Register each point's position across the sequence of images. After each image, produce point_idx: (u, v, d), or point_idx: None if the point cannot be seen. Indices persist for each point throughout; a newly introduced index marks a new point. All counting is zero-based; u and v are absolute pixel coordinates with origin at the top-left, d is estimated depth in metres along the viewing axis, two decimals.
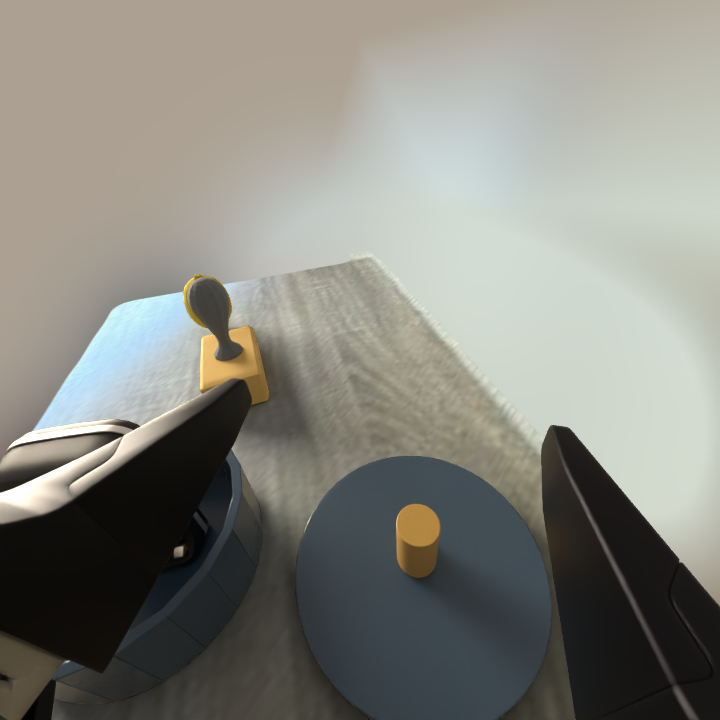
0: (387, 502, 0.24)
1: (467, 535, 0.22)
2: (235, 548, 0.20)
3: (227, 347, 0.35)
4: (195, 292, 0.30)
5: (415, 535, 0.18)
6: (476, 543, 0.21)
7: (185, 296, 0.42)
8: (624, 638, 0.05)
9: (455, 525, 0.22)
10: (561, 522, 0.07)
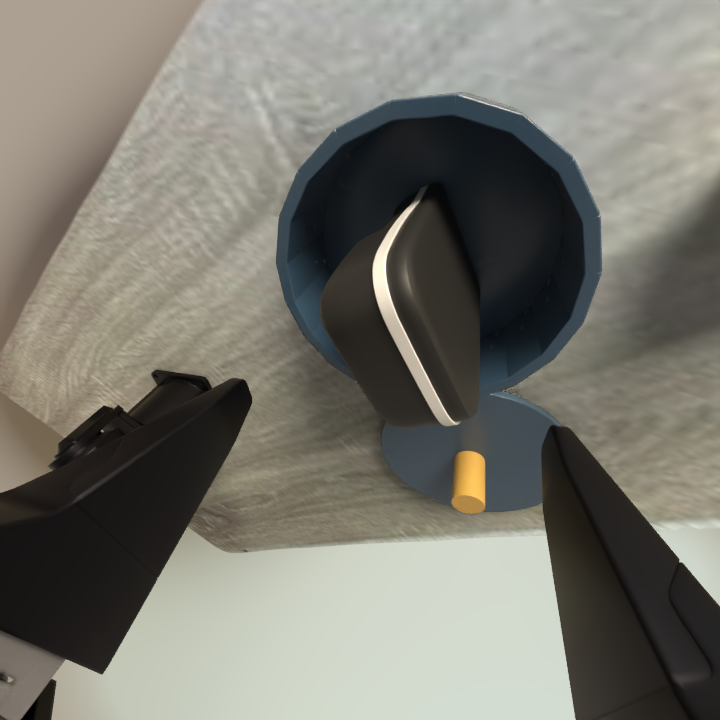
0: (515, 447, 0.26)
1: (490, 485, 0.29)
2: None
3: None
4: None
5: (458, 502, 0.25)
6: (485, 488, 0.30)
7: None
8: (624, 637, 0.05)
9: (498, 481, 0.29)
10: (561, 522, 0.07)
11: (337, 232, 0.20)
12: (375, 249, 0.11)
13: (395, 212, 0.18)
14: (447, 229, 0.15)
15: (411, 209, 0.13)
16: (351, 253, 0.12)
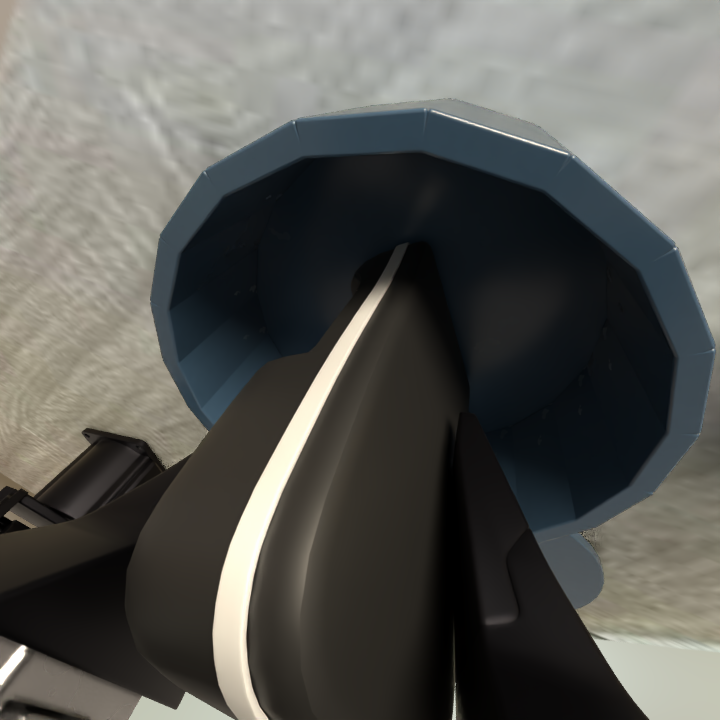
0: None
1: None
2: None
3: None
4: None
5: None
6: None
7: None
8: (469, 594, 0.06)
9: None
10: (455, 499, 0.08)
11: (276, 294, 0.14)
12: (263, 455, 0.05)
13: (356, 276, 0.12)
14: (430, 333, 0.09)
15: (368, 316, 0.07)
16: (236, 413, 0.06)
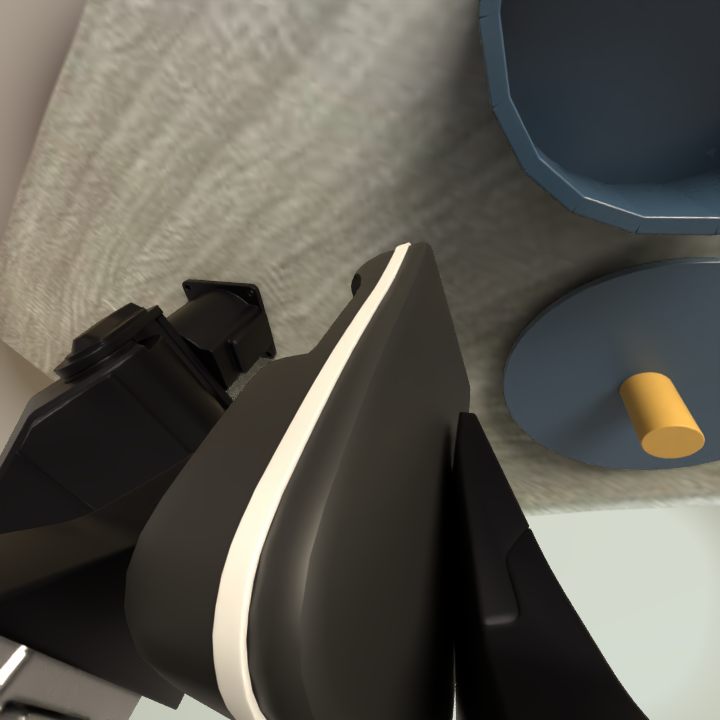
0: None
1: None
2: None
3: None
4: None
5: (656, 439, 0.17)
6: None
7: None
8: (469, 594, 0.06)
9: None
10: (455, 499, 0.08)
11: None
12: (264, 457, 0.05)
13: (356, 276, 0.12)
14: (431, 334, 0.09)
15: (369, 317, 0.07)
16: (236, 414, 0.06)
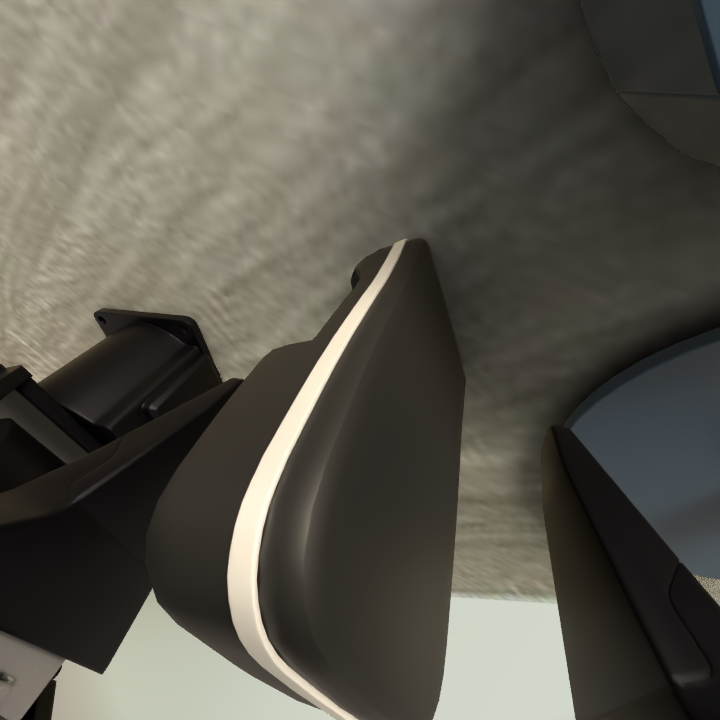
0: None
1: None
2: None
3: None
4: None
5: None
6: None
7: None
8: (624, 638, 0.05)
9: None
10: (561, 522, 0.07)
11: None
12: (270, 429, 0.05)
13: (356, 271, 0.12)
14: (426, 325, 0.10)
15: (367, 307, 0.08)
16: (243, 395, 0.07)
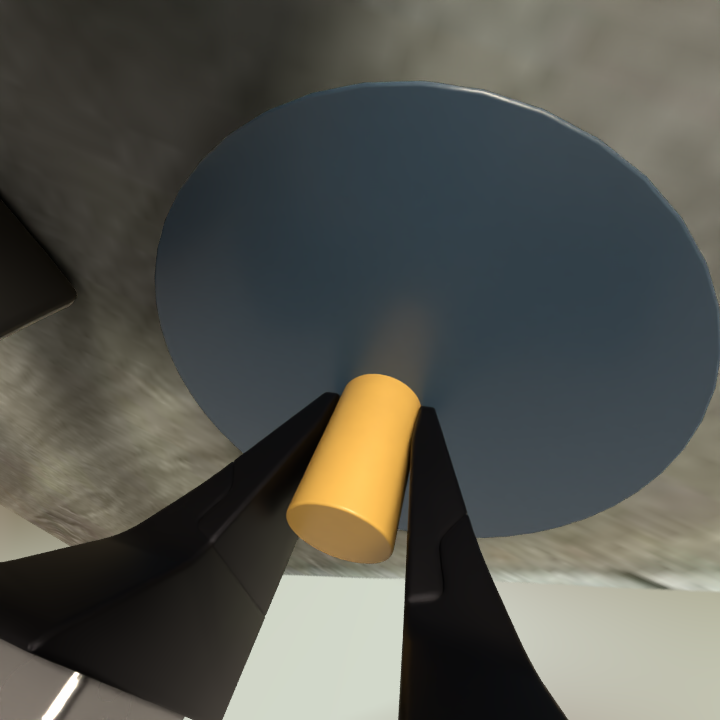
0: (504, 346, 0.08)
1: None
2: None
3: None
4: None
5: (309, 527, 0.07)
6: None
7: None
8: None
9: (461, 464, 0.11)
10: None
11: None
12: None
13: None
14: None
15: None
16: None
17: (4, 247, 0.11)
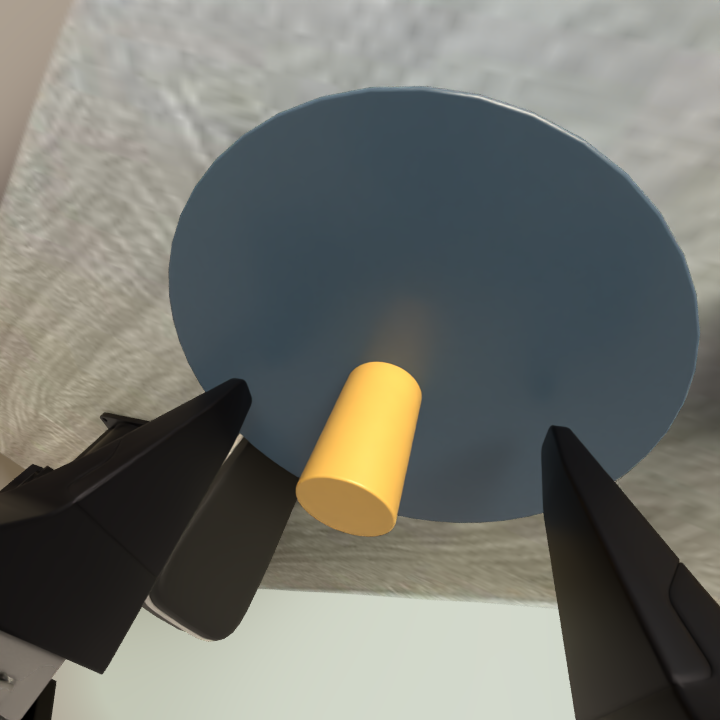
0: (499, 334, 0.08)
1: (444, 460, 0.12)
2: None
3: None
4: None
5: (317, 501, 0.08)
6: (432, 467, 0.12)
7: None
8: (624, 637, 0.05)
9: (460, 449, 0.11)
10: (561, 522, 0.07)
11: None
12: None
13: None
14: (257, 465, 0.21)
15: None
16: None
17: None
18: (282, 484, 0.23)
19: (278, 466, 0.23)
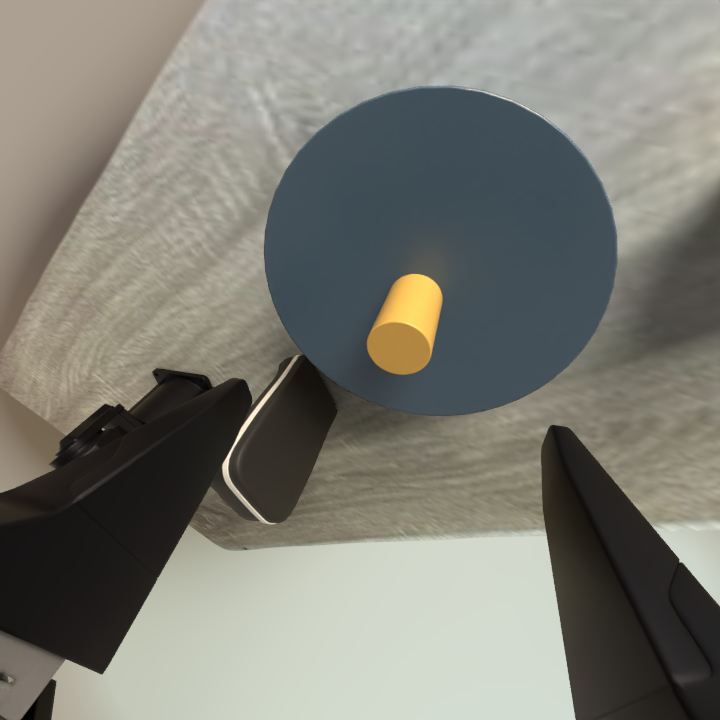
0: (495, 245, 0.13)
1: (456, 355, 0.17)
2: None
3: None
4: None
5: (381, 347, 0.13)
6: (447, 363, 0.17)
7: None
8: (624, 637, 0.05)
9: (468, 343, 0.16)
10: (561, 522, 0.07)
11: None
12: None
13: None
14: (299, 396, 0.26)
15: (269, 395, 0.24)
16: None
17: (325, 400, 0.29)
18: (317, 416, 0.27)
19: (314, 401, 0.27)
